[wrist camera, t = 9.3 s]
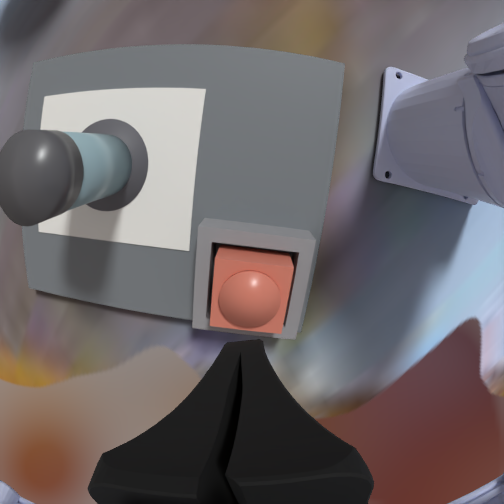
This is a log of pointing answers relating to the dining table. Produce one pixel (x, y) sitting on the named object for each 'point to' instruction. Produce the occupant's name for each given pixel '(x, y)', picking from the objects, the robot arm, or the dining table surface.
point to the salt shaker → (59, 172)
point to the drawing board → (188, 172)
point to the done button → (250, 289)
